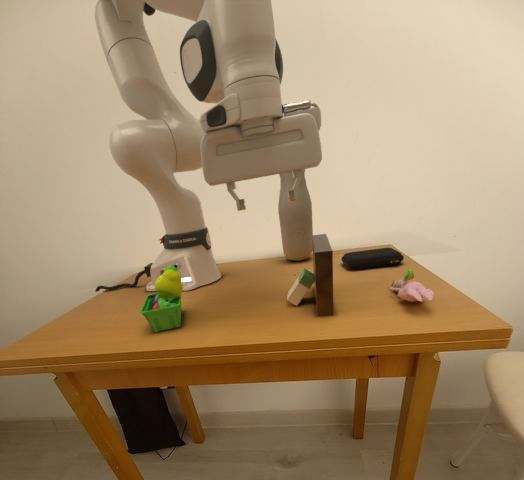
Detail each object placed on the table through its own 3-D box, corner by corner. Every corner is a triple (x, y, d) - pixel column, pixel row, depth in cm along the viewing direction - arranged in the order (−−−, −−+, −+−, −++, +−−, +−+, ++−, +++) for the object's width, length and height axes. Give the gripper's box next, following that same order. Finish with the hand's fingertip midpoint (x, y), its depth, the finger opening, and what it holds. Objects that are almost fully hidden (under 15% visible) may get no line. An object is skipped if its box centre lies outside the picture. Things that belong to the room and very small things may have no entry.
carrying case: (349, 273, 76) (407, 266, 75) (349, 261, 75) (409, 254, 74) (340, 263, 85) (392, 256, 84) (340, 252, 84) (393, 245, 83)
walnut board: (317, 316, 56) (314, 252, 50) (314, 288, 70) (311, 235, 64) (333, 315, 56) (332, 250, 50) (327, 287, 70) (325, 233, 64)
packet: (287, 306, 62) (285, 275, 59) (288, 298, 66) (286, 268, 63) (314, 305, 61) (314, 273, 58) (314, 297, 65) (314, 267, 62)
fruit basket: (153, 315, 68) (137, 266, 63) (191, 307, 69) (179, 259, 64) (148, 336, 59) (127, 281, 53) (192, 327, 60) (177, 272, 54)
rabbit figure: (383, 295, 64) (405, 312, 51) (384, 267, 62) (408, 277, 48) (413, 292, 63) (445, 309, 50) (415, 264, 61) (449, 273, 48)
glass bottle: (310, 254, 99) (306, 155, 85) (316, 261, 90) (313, 152, 76) (281, 258, 99) (272, 160, 85) (284, 266, 90) (275, 158, 76)
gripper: (317, 102, 49) (321, 195, 55) (197, 126, 51) (216, 213, 57) (323, 91, 43) (327, 196, 50) (189, 119, 45) (210, 216, 52)
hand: (267, 205), depth 54 cm, fingers open, 8 cm apart
